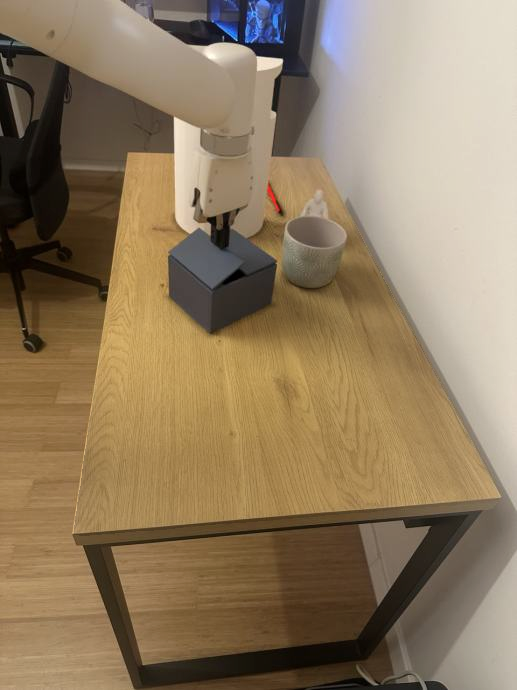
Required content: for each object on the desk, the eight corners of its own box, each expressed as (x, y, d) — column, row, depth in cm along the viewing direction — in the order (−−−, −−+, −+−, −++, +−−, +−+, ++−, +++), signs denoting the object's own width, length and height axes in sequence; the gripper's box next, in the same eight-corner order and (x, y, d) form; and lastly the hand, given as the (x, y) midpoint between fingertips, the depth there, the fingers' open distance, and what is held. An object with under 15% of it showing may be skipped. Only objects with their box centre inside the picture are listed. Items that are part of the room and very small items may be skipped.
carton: (210, 334, 90) (212, 289, 83) (168, 296, 96) (167, 251, 89) (271, 304, 98) (277, 260, 91) (229, 271, 104) (232, 228, 97)
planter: (343, 293, 103) (355, 248, 95) (284, 295, 100) (293, 249, 93) (326, 258, 112) (337, 215, 104) (272, 259, 109) (279, 214, 102)
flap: (212, 290, 83) (212, 288, 83) (168, 253, 90) (167, 251, 89) (245, 263, 85) (244, 261, 85) (199, 228, 91) (198, 227, 91)
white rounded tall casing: (175, 212, 119) (262, 218, 122) (172, 238, 111) (266, 243, 113) (173, 46, 95) (282, 57, 97) (169, 64, 87) (288, 75, 89)
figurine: (326, 237, 118) (337, 190, 110) (323, 255, 112) (334, 207, 104) (295, 231, 119) (303, 184, 110) (290, 249, 113) (299, 200, 105)
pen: (279, 216, 123) (280, 212, 122) (262, 180, 136) (262, 176, 136) (283, 216, 123) (283, 212, 123) (265, 180, 136) (265, 176, 136)
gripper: (247, 122, 81) (238, 223, 93) (169, 139, 73) (171, 247, 86) (278, 139, 77) (265, 241, 90) (200, 159, 69) (197, 268, 82)
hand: (219, 244), depth 88 cm, fingers closed
